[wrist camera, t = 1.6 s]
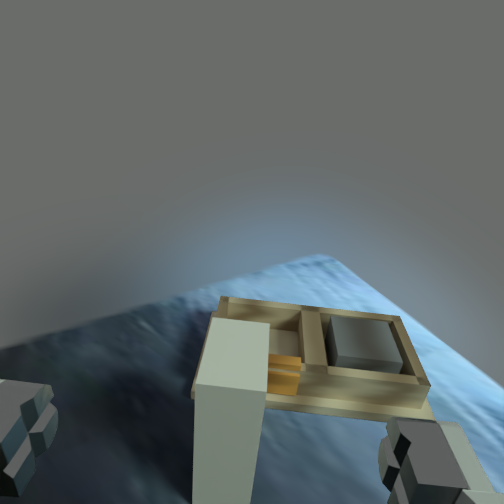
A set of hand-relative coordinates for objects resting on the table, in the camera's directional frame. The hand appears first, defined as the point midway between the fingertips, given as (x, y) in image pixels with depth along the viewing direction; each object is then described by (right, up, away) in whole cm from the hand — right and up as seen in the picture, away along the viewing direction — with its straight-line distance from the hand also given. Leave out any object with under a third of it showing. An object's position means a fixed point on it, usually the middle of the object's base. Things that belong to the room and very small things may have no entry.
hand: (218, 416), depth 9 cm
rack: (+7, -8, +31) cm, 32 cm away
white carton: (-1, -13, +20) cm, 24 cm away
